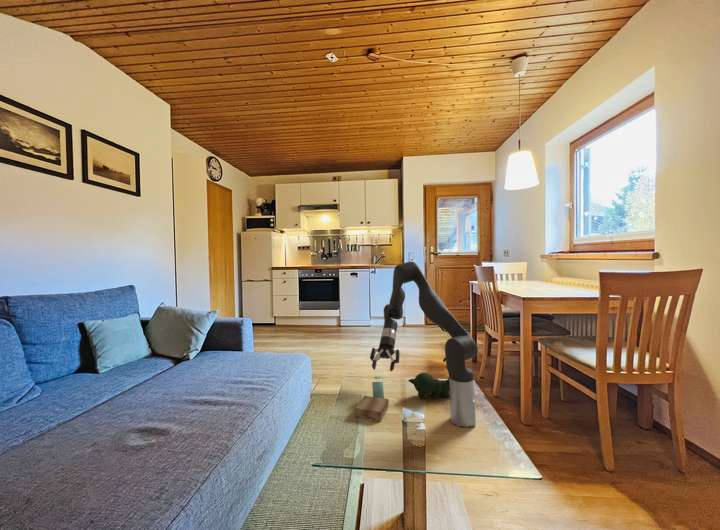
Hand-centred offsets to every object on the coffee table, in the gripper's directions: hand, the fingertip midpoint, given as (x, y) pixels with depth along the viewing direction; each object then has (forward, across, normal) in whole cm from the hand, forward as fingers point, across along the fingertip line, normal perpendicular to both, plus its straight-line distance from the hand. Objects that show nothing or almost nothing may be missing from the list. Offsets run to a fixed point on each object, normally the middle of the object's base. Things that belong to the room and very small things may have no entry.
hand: (382, 369), depth 147 cm
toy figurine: (+6, +24, +11) cm, 27 cm away
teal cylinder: (+13, 0, +3) cm, 13 cm away
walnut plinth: (+21, +1, -5) cm, 22 cm away
